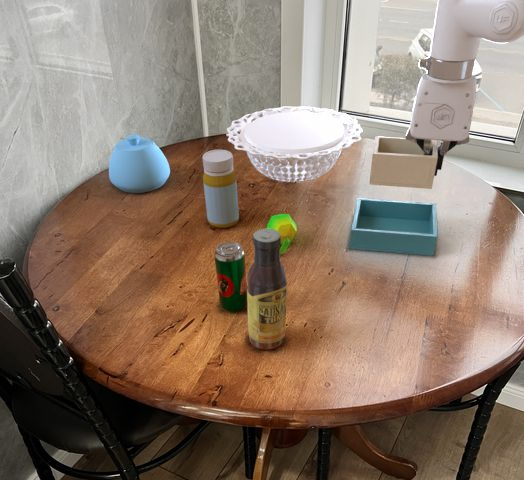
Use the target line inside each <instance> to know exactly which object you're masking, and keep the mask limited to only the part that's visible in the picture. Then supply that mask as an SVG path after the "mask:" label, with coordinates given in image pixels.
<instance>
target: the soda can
mask: <svg viewBox="0 0 524 480" xmlns="http://www.w3.org/2000/svg"><path fill="white" fill-rule="evenodd" d="M213 255H214V263H215V264H214V265H215V273H216V281H217V282H216V283H217V288H218V289H217V290H218V300H219V306H220V307H221V309H222V310H224V311H225V312H228V313H238V312H241V311H242V310H244V309H245V308H246V307H248V304H247V286H248V282H247V270H246V257H245V251H244V249H243V247H242V245H241V244H240V243H238V242H235V241H225V242H222V243H219V244H218V245H217V246H216V248H215V252H214V254H213Z"/></svg>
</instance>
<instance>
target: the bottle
mask: <svg viewBox="0 0 524 480" xmlns="http://www.w3.org/2000/svg"><path fill="white" fill-rule="evenodd" d="M202 166H203V175H202V181H203V182H202V183H203V184H202V185H203V191H204V200H205V208H206V209H205V210H206V217H207V222H208V224H209V225H211V226H212V227H213V228H216V229H217V228H218V229H228V228H232V227H233V226H235V225H236V224H237V223H238V222H239V220H240V213H239V212H240V210H239V197H238V183H237V175H236V173H235V171H234V156H233V152H231V151H229V150H226V149H213V150H209V151H206V152H204V153H203V155H202Z"/></svg>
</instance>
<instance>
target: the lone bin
mask: <svg viewBox="0 0 524 480" xmlns="http://www.w3.org/2000/svg"><path fill="white" fill-rule="evenodd" d="M431 147H432V156H429V155H424V152H423V150H422V149H421V148H420V147H419V146H418V144H417V143H414V142H411V141H408V140H406V136H405V137H403V136H385V135H375V138H374V143H373V149H372V155H371V167H370V174H369V175H370V176H369V185H370V186H383V187H384V186H385V187H397V188H398V187H400V188H412V189H413V188H414V189H428V190H432V189H433V184H434V179H435V176H434V174H435V169H436V164H437V159H438V152H437V149H438V140H431Z"/></svg>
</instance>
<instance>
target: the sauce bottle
mask: <svg viewBox="0 0 524 480" xmlns="http://www.w3.org/2000/svg"><path fill="white" fill-rule="evenodd" d="M252 244H253V246H254V257H253V263H252V265H251V266H250V267H249V270H248V272H247V275H246V282H247V333H248V338H249V342H250V344H251V345H252V346H253V347H254V348H256V349H257V350H258V349H259V350H263V351H264V350H266V351H267V350H269V351H270V350H274V349H277V348H279V347H280V346H281V345H282V344H283V342H284V341H285V335H286V331H287V330H286V329H287V299H288V298H287V296H288V295H287V293H288V289H287V288H288V283H287V282H288V281H287V276H286V273H285V272H286V271H285V268H284V265H283V264H282V262H281V255H280V248H281V235H280V233H279V232H278V231H276V230H274V229H267V228H261V229H258V230H256V231H254V233H253V235H252Z"/></svg>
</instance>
